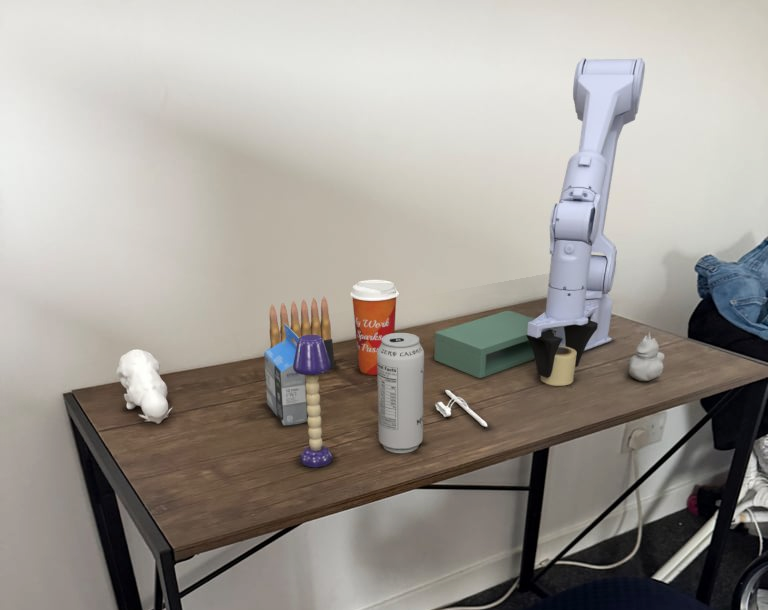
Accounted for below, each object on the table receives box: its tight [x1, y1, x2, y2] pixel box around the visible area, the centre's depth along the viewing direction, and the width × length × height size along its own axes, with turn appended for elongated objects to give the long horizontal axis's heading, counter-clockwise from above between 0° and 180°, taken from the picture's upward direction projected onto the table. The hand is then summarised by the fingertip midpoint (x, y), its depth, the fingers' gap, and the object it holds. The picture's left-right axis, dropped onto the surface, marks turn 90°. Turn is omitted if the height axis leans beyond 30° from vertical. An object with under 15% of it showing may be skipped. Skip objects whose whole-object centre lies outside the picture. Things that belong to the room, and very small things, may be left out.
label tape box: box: [263, 323, 308, 426], centre depth 109 cm, size 9×4×12 cm, turn 23°
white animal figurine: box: [116, 348, 173, 425], centre depth 111 cm, size 6×8×12 cm
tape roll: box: [540, 346, 577, 387], centre depth 121 cm, size 5×5×5 cm
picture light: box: [434, 389, 488, 428], centre depth 112 cm, size 14×4×2 cm, turn 21°
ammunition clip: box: [269, 296, 336, 370], centre depth 123 cm, size 11×2×12 cm, turn 116°
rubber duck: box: [628, 331, 666, 382], centre depth 120 cm, size 5×7×8 cm
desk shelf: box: [433, 309, 556, 379], centre depth 130 cm, size 18×11×5 cm, turn 129°
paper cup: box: [350, 279, 400, 376], centre depth 123 cm, size 8×8×14 cm
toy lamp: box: [293, 335, 333, 468], centre depth 96 cm, size 5×5×17 cm
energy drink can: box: [376, 332, 425, 454], centre depth 99 cm, size 6×6×15 cm
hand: (557, 370), depth 121 cm, fingers open, 6 cm apart
